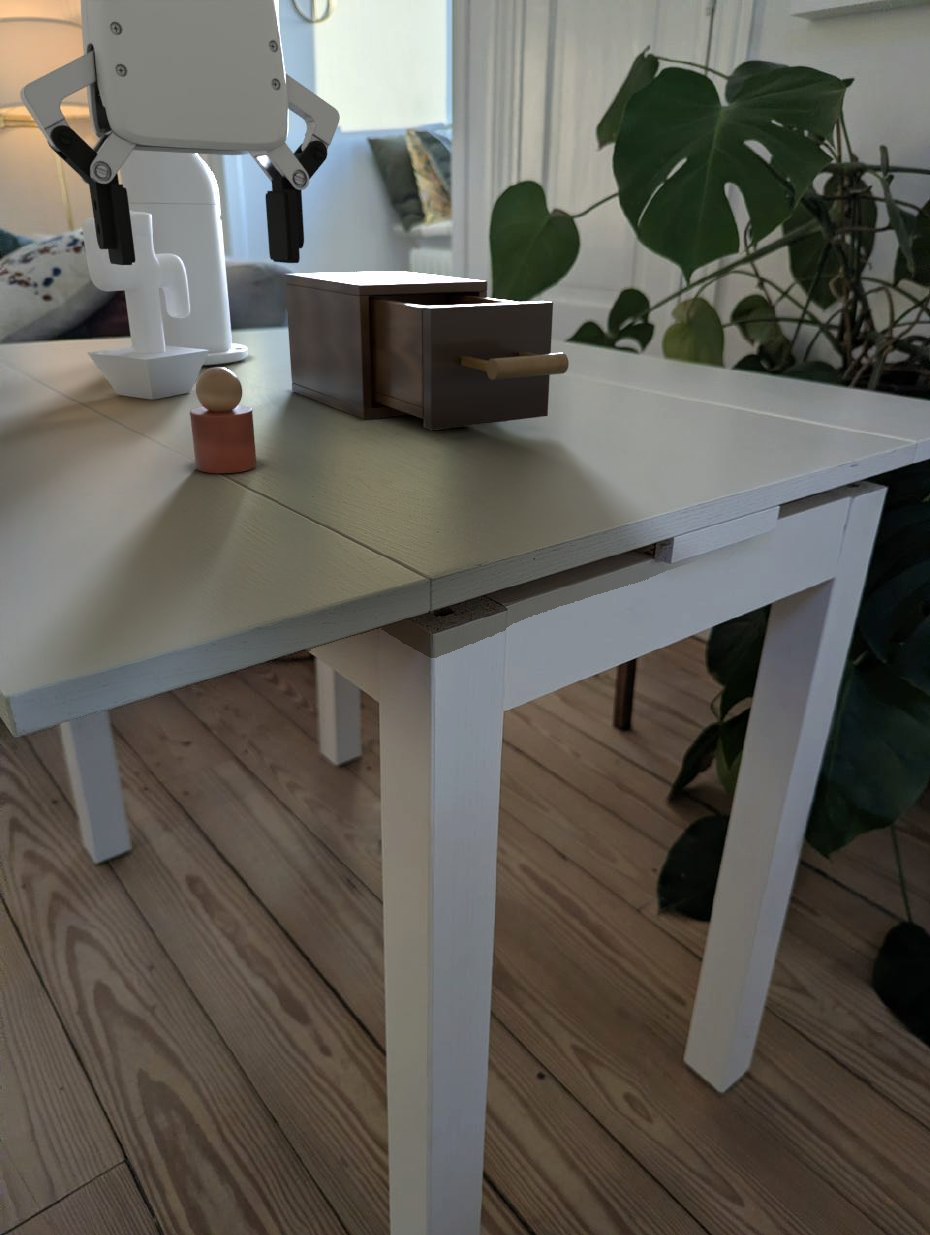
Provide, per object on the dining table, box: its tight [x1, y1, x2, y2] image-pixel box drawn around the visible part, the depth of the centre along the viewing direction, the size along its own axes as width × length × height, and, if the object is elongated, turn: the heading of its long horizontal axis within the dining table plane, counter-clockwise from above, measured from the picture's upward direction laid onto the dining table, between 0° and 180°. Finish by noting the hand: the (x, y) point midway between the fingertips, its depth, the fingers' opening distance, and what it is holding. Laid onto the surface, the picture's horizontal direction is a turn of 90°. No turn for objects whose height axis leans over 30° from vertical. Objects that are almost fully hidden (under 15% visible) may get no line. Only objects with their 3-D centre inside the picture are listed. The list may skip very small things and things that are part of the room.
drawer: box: [369, 293, 570, 431], centre depth 69 cm, size 18×10×8 cm, turn 33°
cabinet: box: [284, 270, 488, 421], centre depth 78 cm, size 15×12×10 cm
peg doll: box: [189, 366, 258, 475], centre depth 57 cm, size 4×4×6 cm
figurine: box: [81, 210, 209, 401], centre depth 78 cm, size 7×9×15 cm
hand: (207, 263), depth 53 cm, fingers open, 9 cm apart
